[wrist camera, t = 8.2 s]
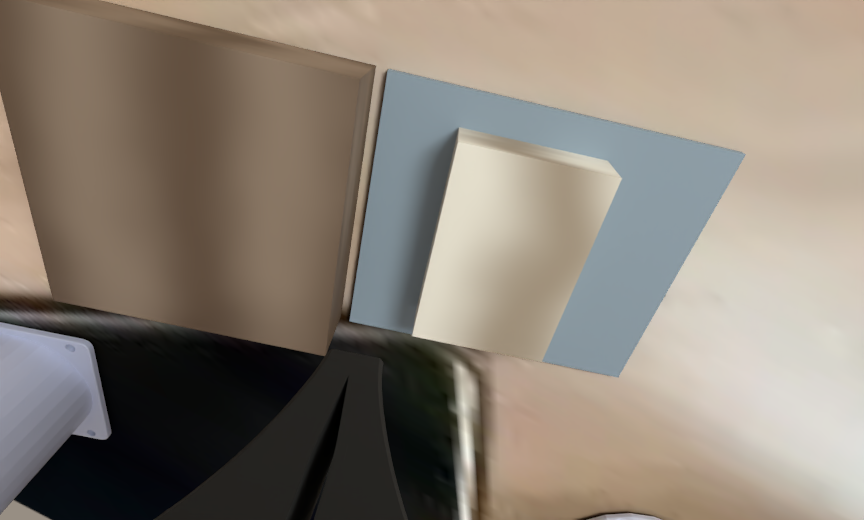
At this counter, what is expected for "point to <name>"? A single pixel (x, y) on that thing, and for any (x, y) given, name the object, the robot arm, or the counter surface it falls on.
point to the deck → (186, 167)
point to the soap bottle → (625, 517)
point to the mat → (613, 247)
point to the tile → (510, 243)
